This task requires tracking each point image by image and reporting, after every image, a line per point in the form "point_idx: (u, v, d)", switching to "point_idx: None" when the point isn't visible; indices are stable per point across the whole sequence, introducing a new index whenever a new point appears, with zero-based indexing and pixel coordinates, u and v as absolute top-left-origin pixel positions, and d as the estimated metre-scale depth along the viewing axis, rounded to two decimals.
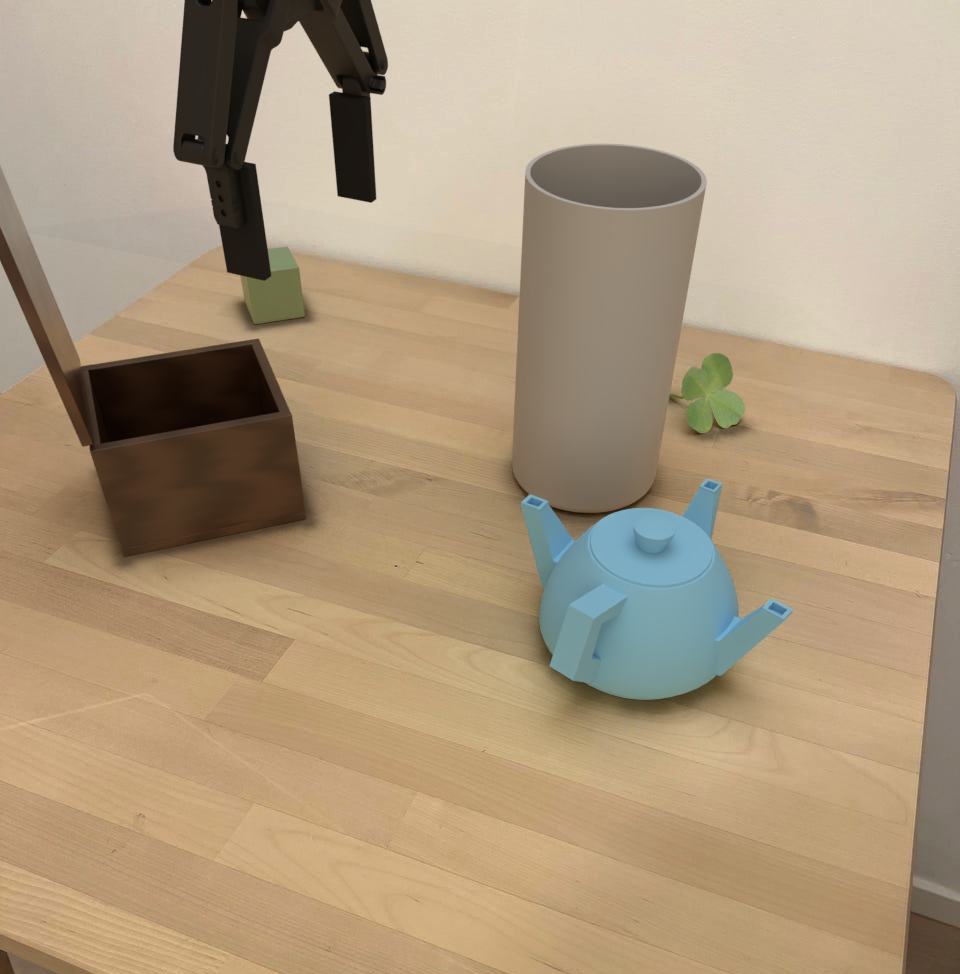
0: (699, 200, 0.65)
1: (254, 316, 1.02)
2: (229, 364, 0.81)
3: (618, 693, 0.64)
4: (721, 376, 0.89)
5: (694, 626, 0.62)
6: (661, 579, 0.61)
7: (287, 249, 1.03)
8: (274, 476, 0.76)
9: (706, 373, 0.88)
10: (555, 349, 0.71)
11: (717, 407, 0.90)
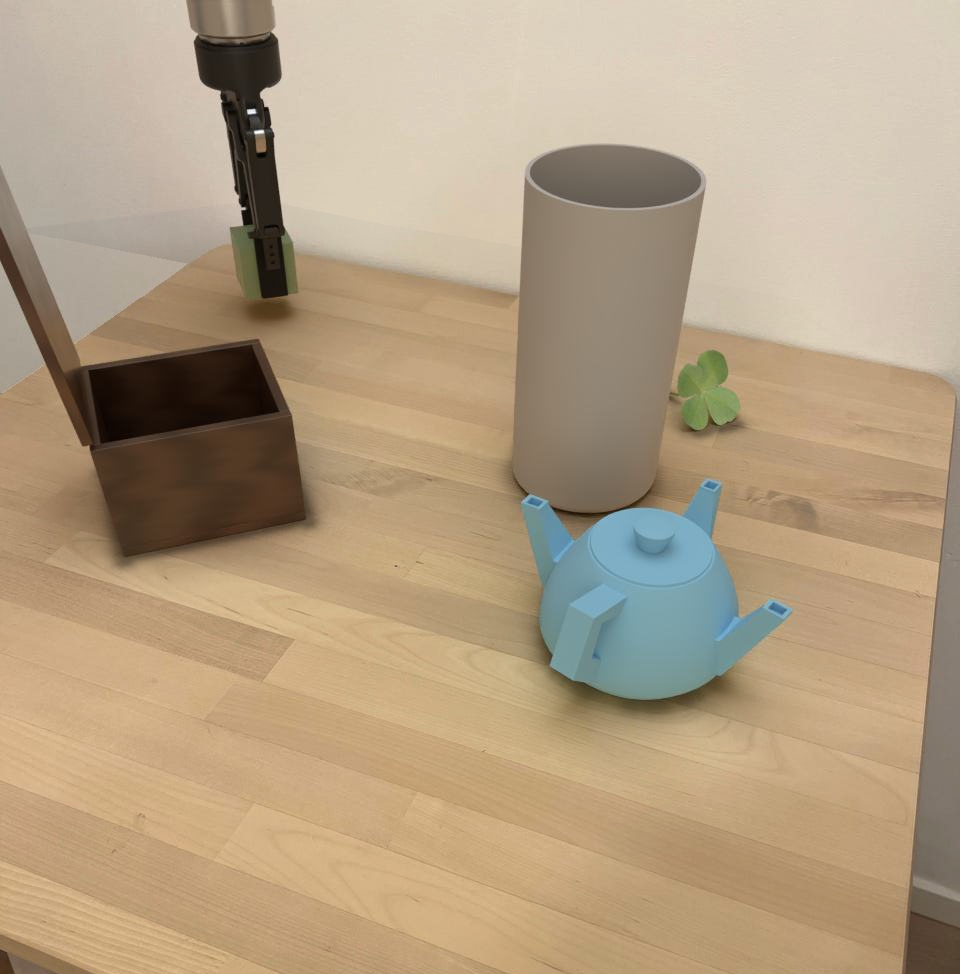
0: (699, 200, 0.65)
1: (246, 291, 1.00)
2: (229, 364, 0.81)
3: (618, 693, 0.64)
4: (716, 373, 0.89)
5: (694, 626, 0.62)
6: (661, 579, 0.61)
7: None
8: (274, 476, 0.76)
9: (701, 370, 0.89)
10: (554, 349, 0.71)
11: (712, 404, 0.90)
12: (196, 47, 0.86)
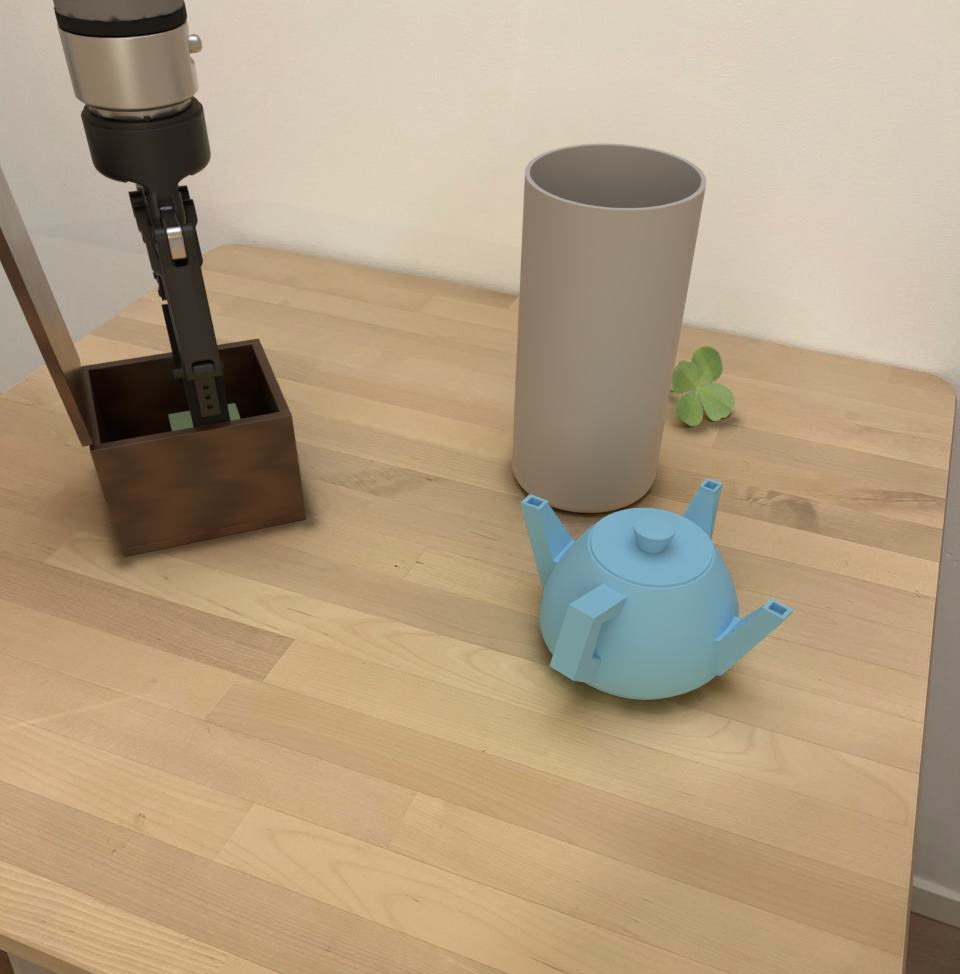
0: (699, 200, 0.65)
1: None
2: (229, 364, 0.81)
3: (618, 693, 0.64)
4: (711, 369, 0.90)
5: (694, 626, 0.62)
6: (661, 579, 0.61)
7: (234, 408, 0.79)
8: (274, 476, 0.76)
9: (696, 366, 0.89)
10: (554, 349, 0.71)
11: (707, 400, 0.90)
12: (83, 122, 0.60)
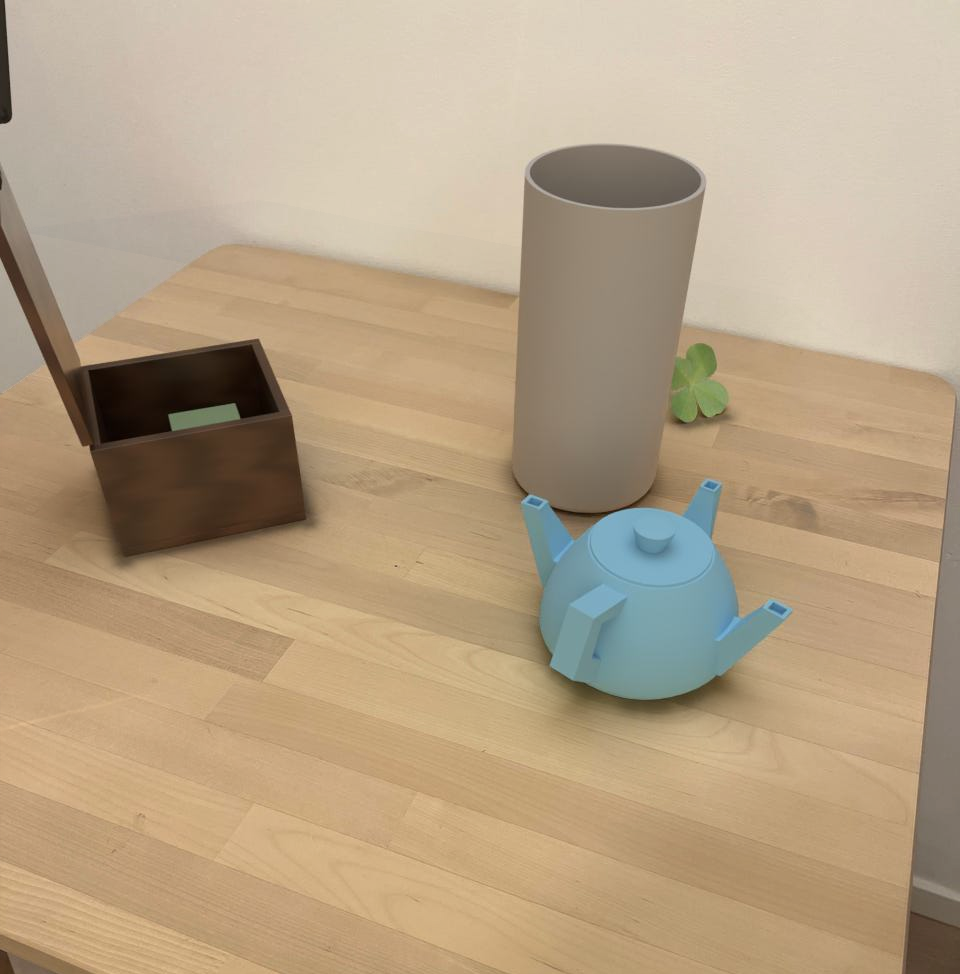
0: (699, 200, 0.65)
1: None
2: (229, 364, 0.81)
3: (618, 693, 0.64)
4: (705, 366, 0.90)
5: (694, 626, 0.62)
6: (661, 579, 0.61)
7: (234, 408, 0.79)
8: (274, 476, 0.76)
9: (690, 362, 0.89)
10: (554, 349, 0.71)
11: (701, 396, 0.91)
12: None
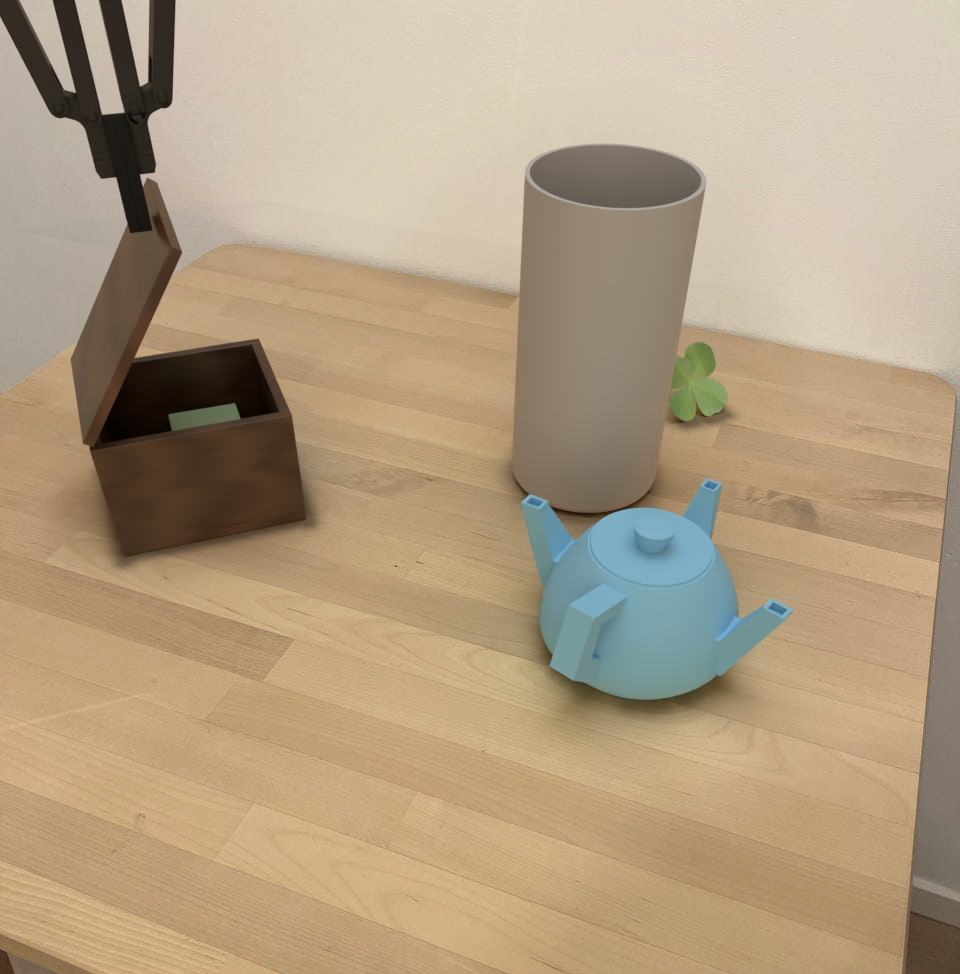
0: (699, 200, 0.65)
1: None
2: (229, 364, 0.81)
3: (618, 693, 0.64)
4: (704, 365, 0.90)
5: (694, 626, 0.62)
6: (661, 579, 0.61)
7: (234, 408, 0.79)
8: (274, 476, 0.76)
9: (689, 361, 0.90)
10: (554, 349, 0.71)
11: (700, 395, 0.91)
12: None
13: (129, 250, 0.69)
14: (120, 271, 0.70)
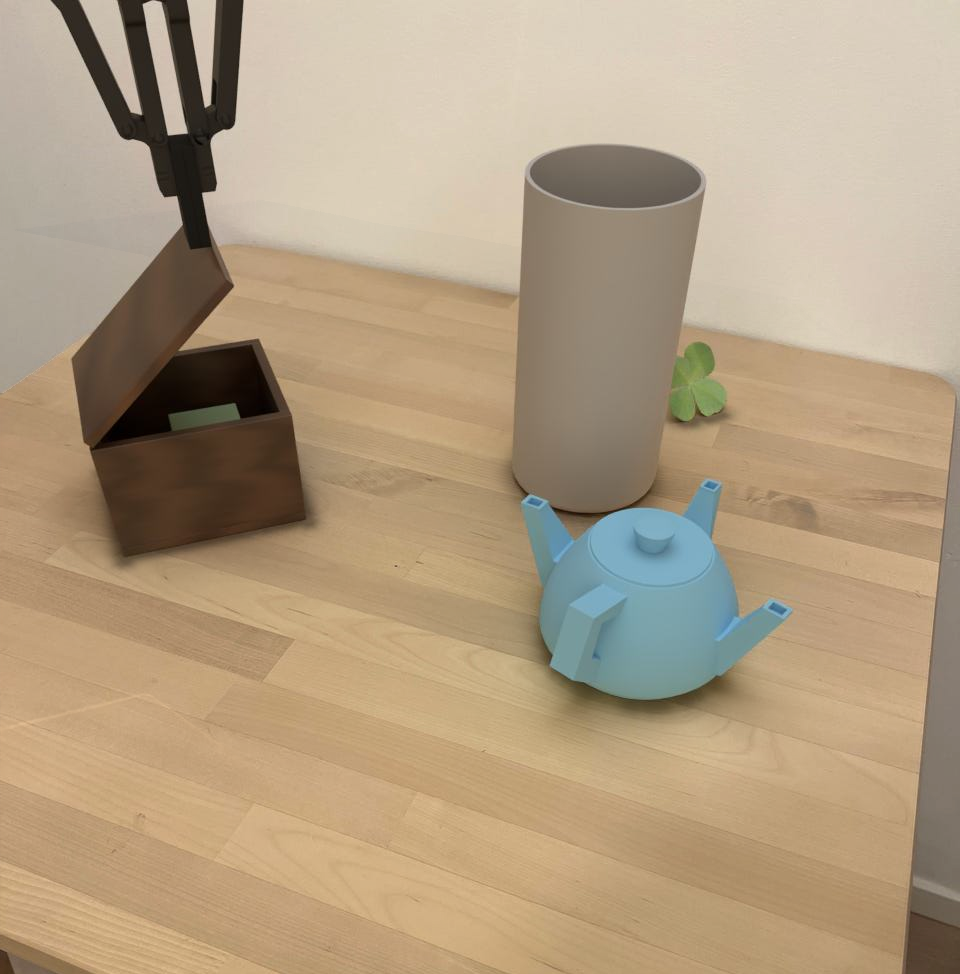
0: (699, 200, 0.65)
1: None
2: (229, 364, 0.81)
3: (618, 693, 0.64)
4: (703, 364, 0.90)
5: (694, 626, 0.62)
6: (661, 579, 0.61)
7: (234, 408, 0.79)
8: (274, 476, 0.76)
9: (688, 361, 0.90)
10: (554, 349, 0.71)
11: (700, 395, 0.91)
12: None
13: (166, 271, 0.71)
14: (151, 288, 0.71)
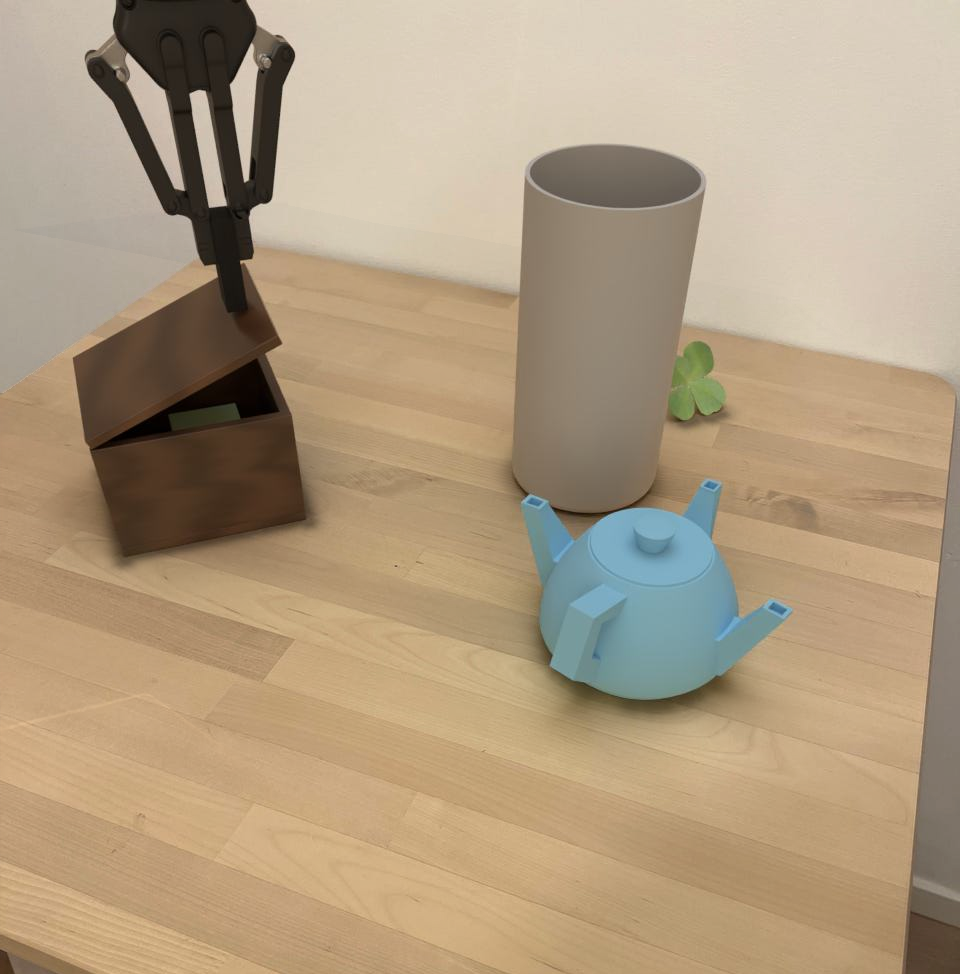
0: (699, 200, 0.65)
1: None
2: None
3: (618, 693, 0.64)
4: (702, 364, 0.91)
5: (694, 626, 0.62)
6: (661, 579, 0.61)
7: (234, 408, 0.79)
8: (274, 476, 0.76)
9: (687, 360, 0.90)
10: (554, 349, 0.71)
11: (699, 394, 0.91)
12: None
13: (203, 308, 0.74)
14: (184, 319, 0.74)
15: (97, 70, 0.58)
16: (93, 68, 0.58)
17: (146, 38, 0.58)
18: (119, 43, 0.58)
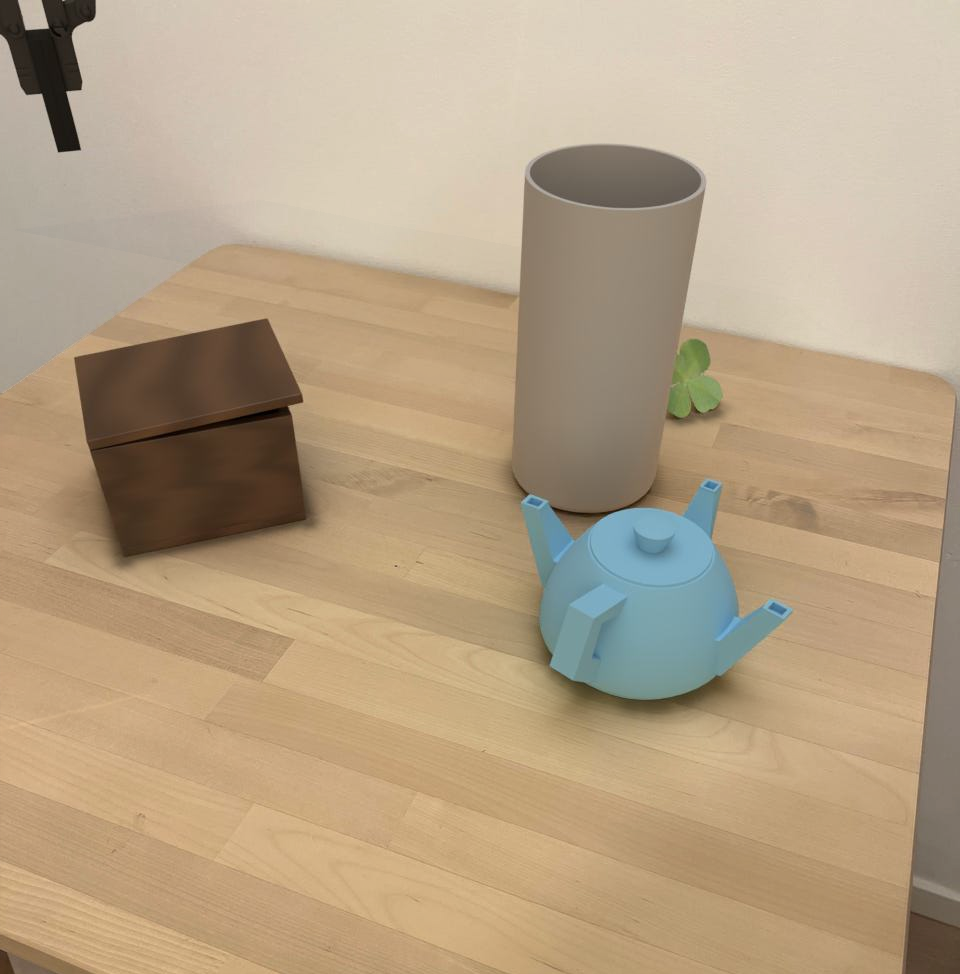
0: (699, 200, 0.65)
1: None
2: None
3: (618, 693, 0.64)
4: (698, 361, 0.91)
5: (694, 626, 0.62)
6: (661, 579, 0.61)
7: None
8: (274, 476, 0.76)
9: (684, 358, 0.90)
10: (554, 349, 0.71)
11: (695, 392, 0.91)
12: None
13: (223, 348, 0.77)
14: (201, 353, 0.76)
15: None
16: None
17: None
18: None
